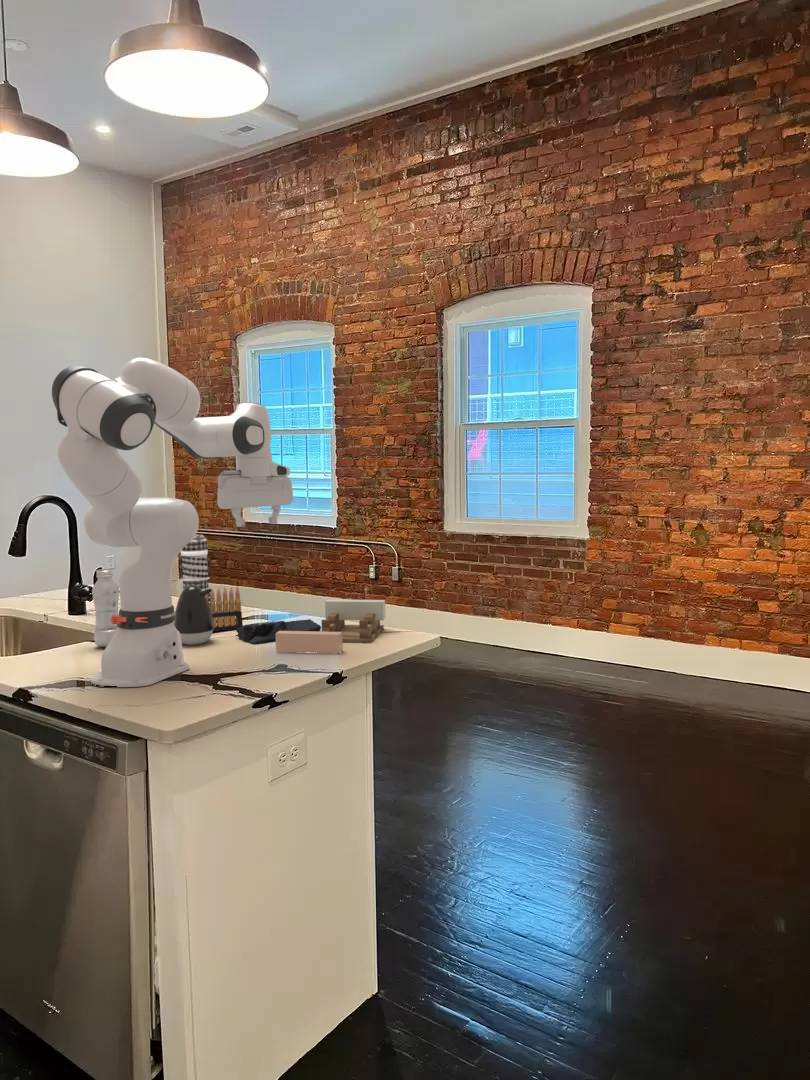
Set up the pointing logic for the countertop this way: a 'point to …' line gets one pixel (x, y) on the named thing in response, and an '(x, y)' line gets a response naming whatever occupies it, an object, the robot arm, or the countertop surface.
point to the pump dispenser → (194, 616)
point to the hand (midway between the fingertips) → (257, 525)
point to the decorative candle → (195, 563)
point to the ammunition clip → (226, 610)
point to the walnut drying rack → (354, 628)
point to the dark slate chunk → (273, 630)
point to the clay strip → (309, 641)
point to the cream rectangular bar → (355, 609)
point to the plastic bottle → (105, 606)
